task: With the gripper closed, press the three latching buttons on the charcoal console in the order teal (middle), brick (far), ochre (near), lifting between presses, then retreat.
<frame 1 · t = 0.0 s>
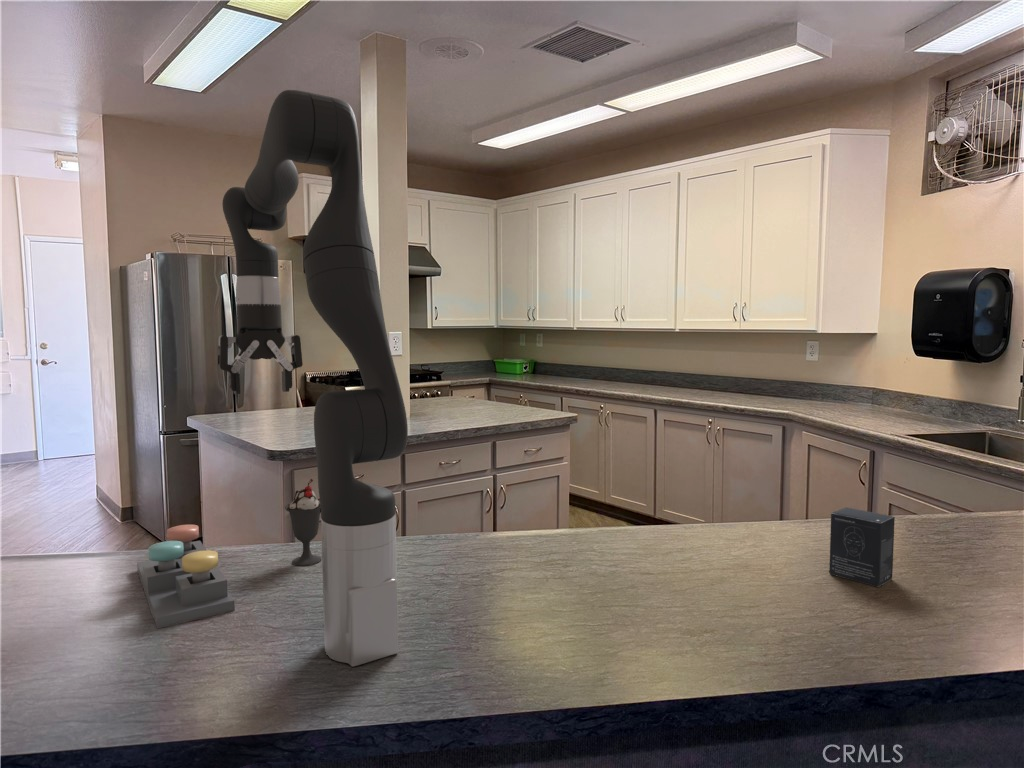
hand: (262, 392, 118), 29 cm above the counter, fingers open, 8 cm apart
button ochre: (200, 569, 97), point 5 cm above the counter, slide at 0.0 cm
button teal: (166, 558, 101), point 5 cm above the counter, slide at 0.0 cm
sundae: (307, 562, 115), on the counter
button brick: (183, 540, 110), point 5 cm above the counter, slide at 0.0 cm
box: (860, 578, 107), on the counter
console: (182, 589, 103), on the counter
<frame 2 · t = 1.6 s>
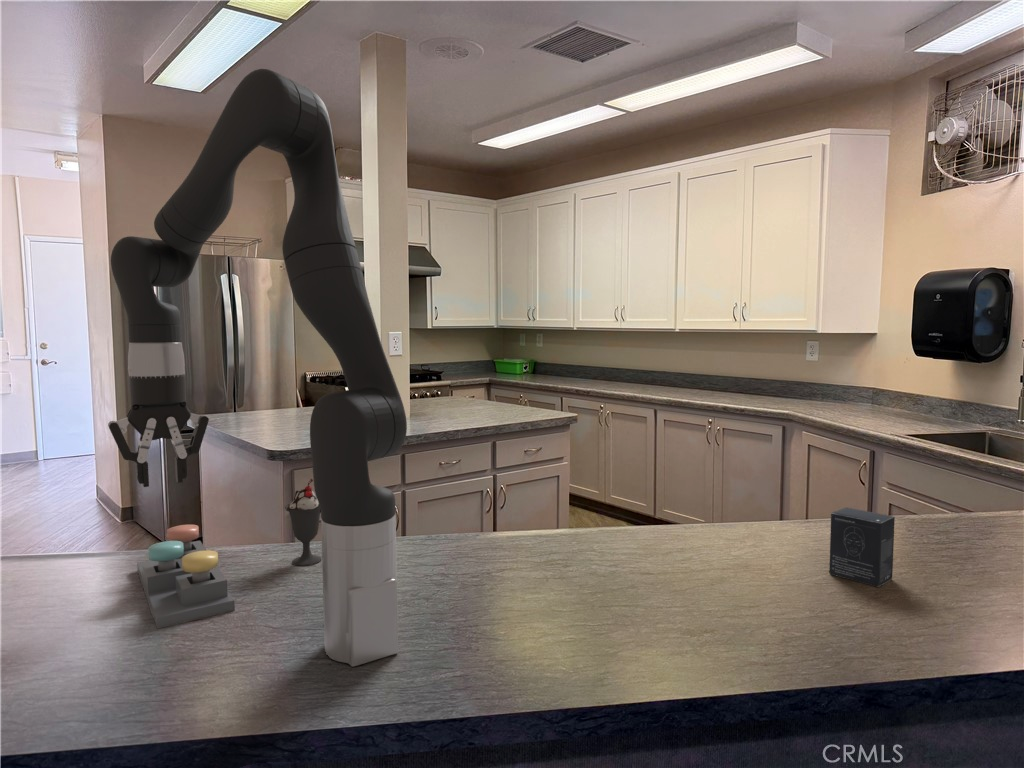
hand: (162, 483, 100), 17 cm above the counter, fingers open, 4 cm apart
nothing on the counter moved.
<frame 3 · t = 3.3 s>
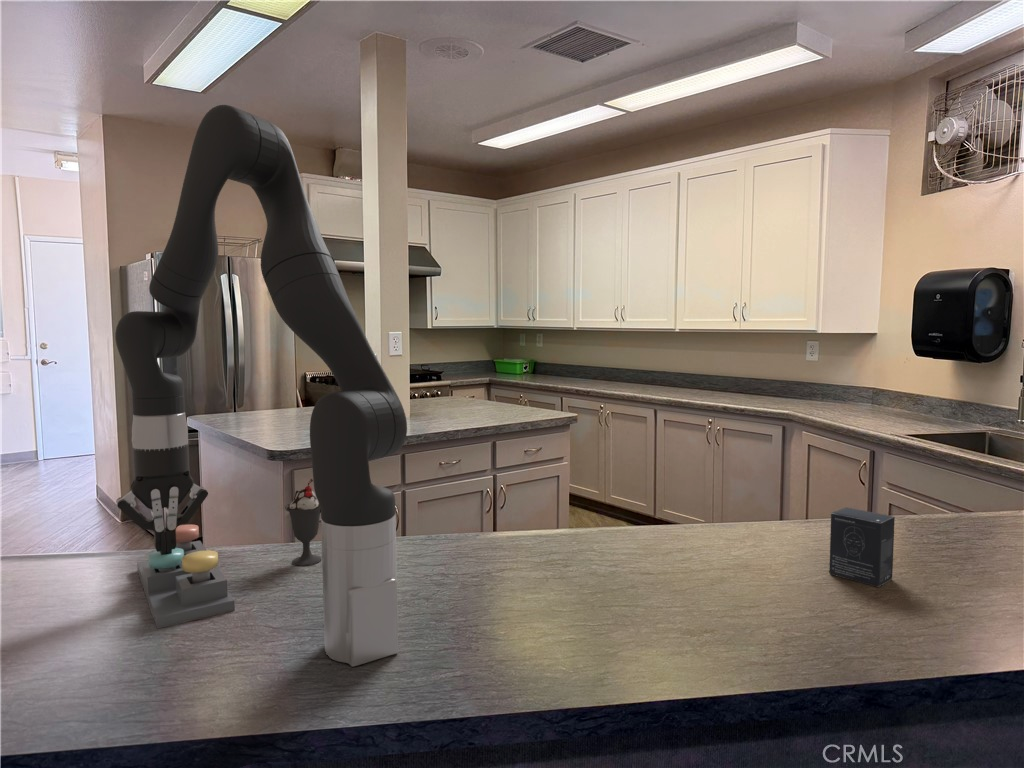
hand: (166, 552, 101), 6 cm above the counter, fingers closed
button teal: (166, 565, 101), point 4 cm above the counter, slide at 1.1 cm, touching gripper
everything else where it was.
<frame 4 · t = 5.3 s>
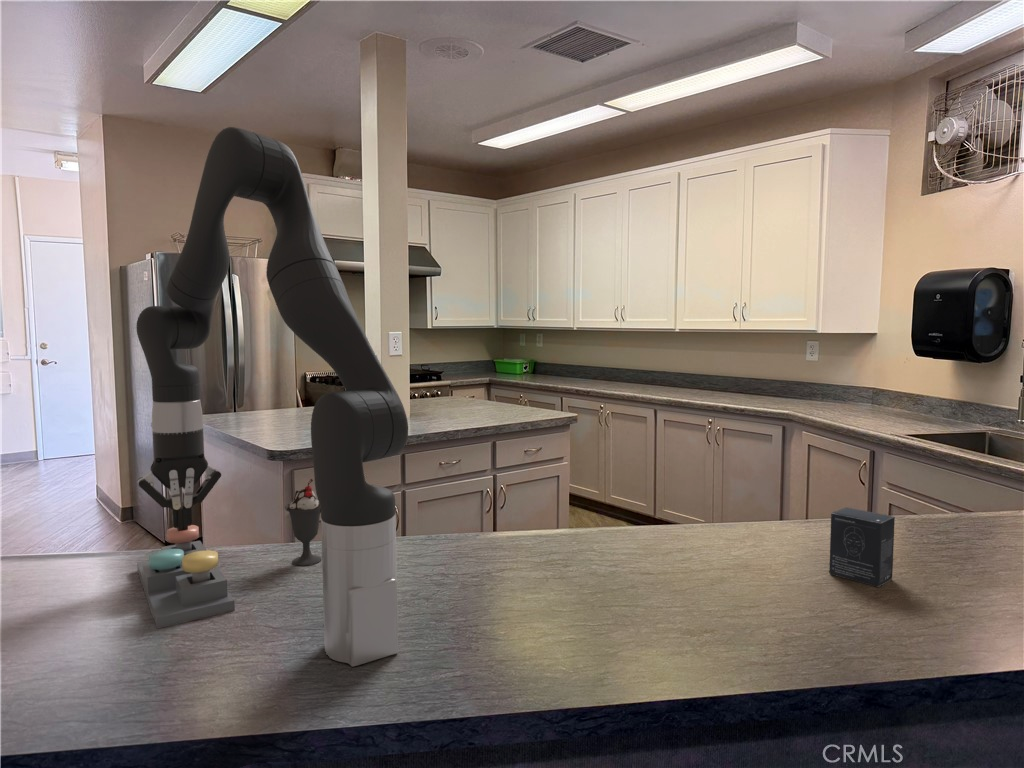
hand: (182, 529, 110), 7 cm above the counter, fingers closed
button teal: (167, 566, 101), point 4 cm above the counter, slide at 1.3 cm
button brick: (183, 541, 110), point 5 cm above the counter, slide at 0.1 cm, touching gripper
everything else where it was.
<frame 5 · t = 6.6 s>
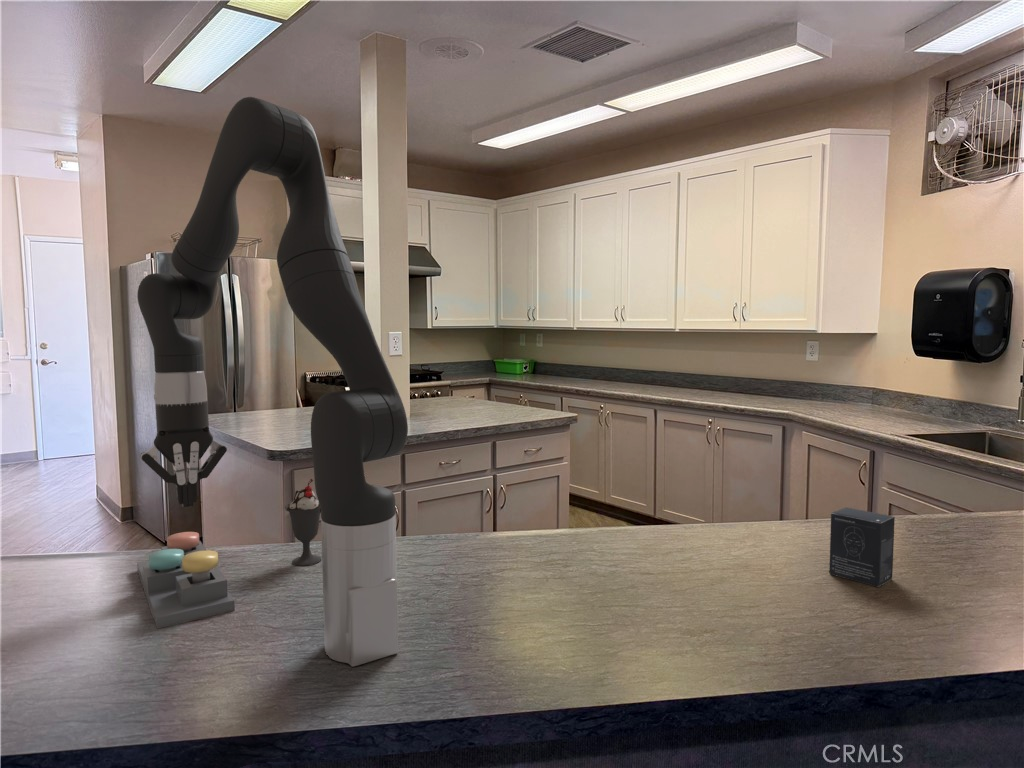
hand: (187, 505, 106), 12 cm above the counter, fingers closed
button brick: (183, 548, 110), point 4 cm above the counter, slide at 1.3 cm
everything else where it was.
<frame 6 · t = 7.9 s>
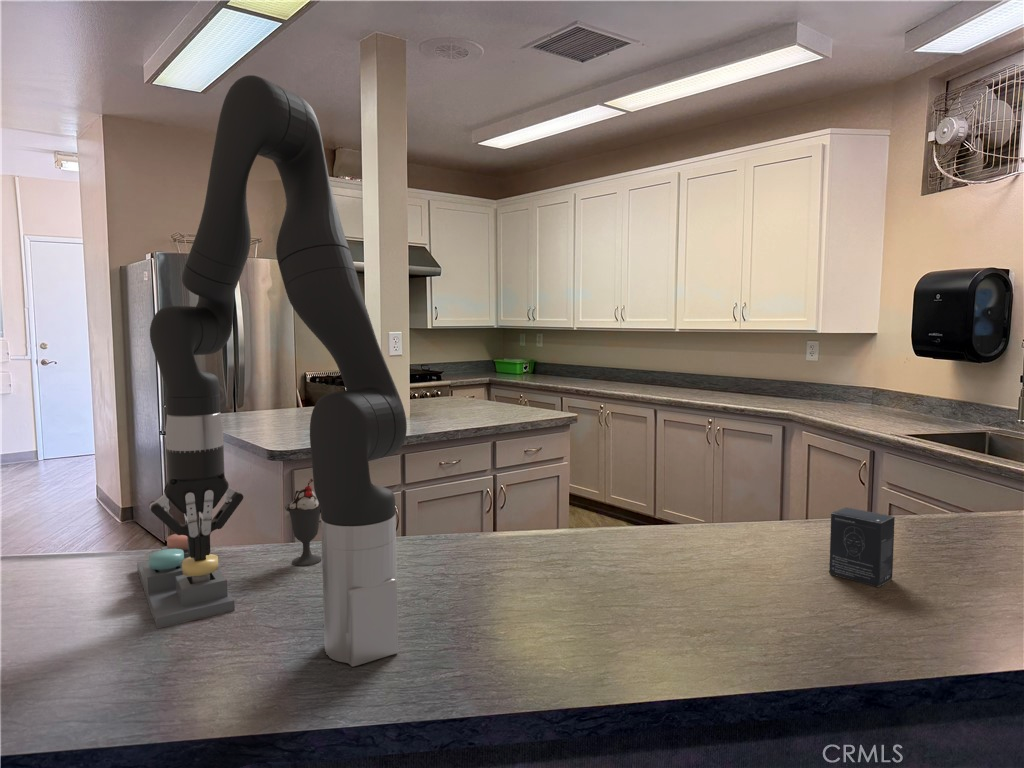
hand: (199, 558, 97), 7 cm above the counter, fingers closed
button ochre: (200, 573, 97), point 5 cm above the counter, slide at 0.6 cm, touching gripper
everything else where it was.
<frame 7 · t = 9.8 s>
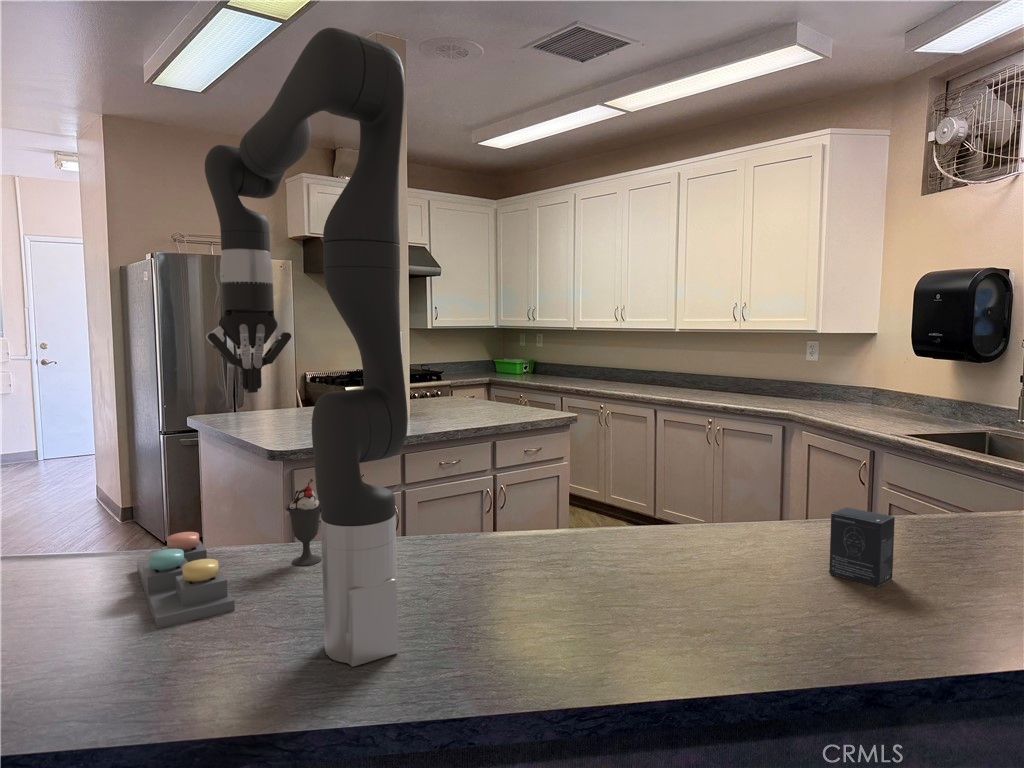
hand: (251, 392, 103), 31 cm above the counter, fingers closed
button ochre: (201, 577, 97), point 4 cm above the counter, slide at 1.3 cm
everything else where it was.
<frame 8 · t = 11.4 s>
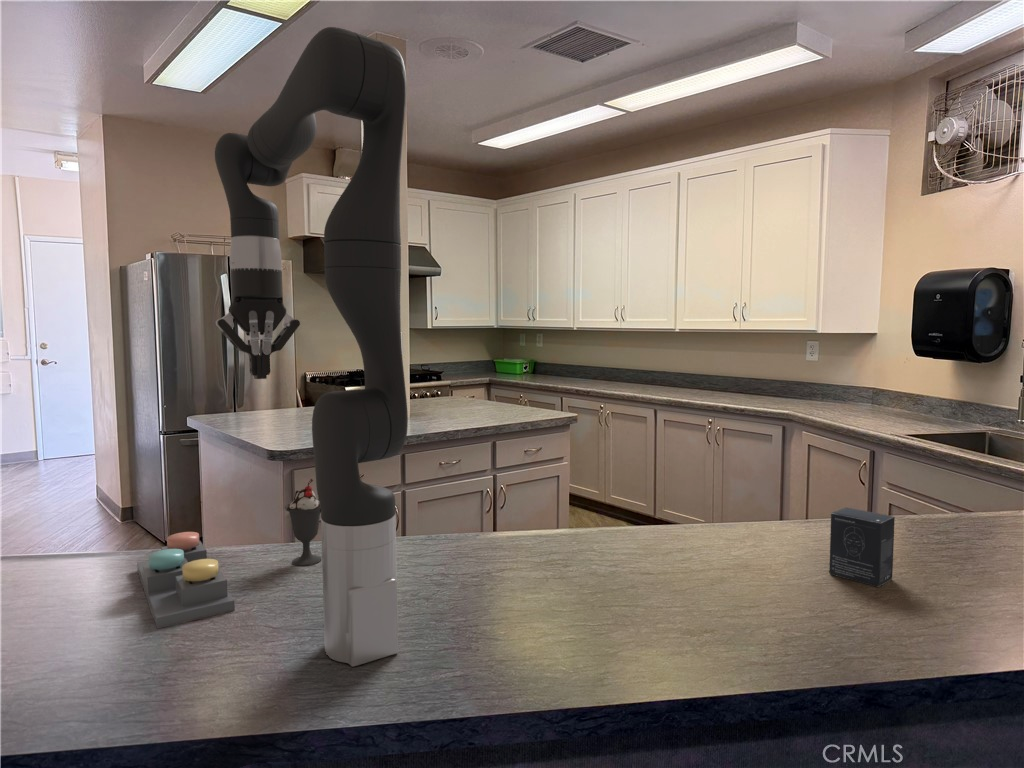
hand: (260, 378, 103), 33 cm above the counter, fingers closed
nothing on the counter moved.
at the end: button teal slide at 1.3 cm; button brick slide at 1.3 cm; button ochre slide at 1.3 cm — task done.
